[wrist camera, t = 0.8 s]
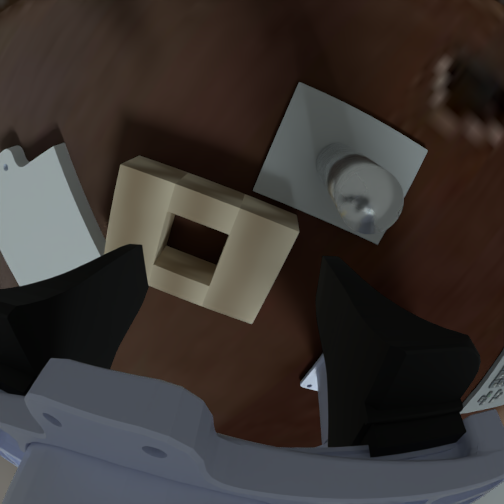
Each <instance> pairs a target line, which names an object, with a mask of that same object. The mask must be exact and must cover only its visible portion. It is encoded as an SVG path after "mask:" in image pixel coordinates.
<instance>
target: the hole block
mask: <svg viewBox="0 0 504 504" xmlns="http://www.w3.org/2000/svg"><path fill="white" fill-rule="evenodd" d="M175 214H176V215H179V216H181V217H184V218H187V219H189V220H192V221H194V222H197V223H200V224H202V225H205V226H207V227H210V228H213V229H215V230H218V231H220V232H223V233H226V234H228V237H227V240H226V243H225V245H224V248H223V250H222V253H221V255H220V258H219V260H218V263H217V265H216V264H213V263H210V262H208V261H205V260H203V259H200V258H197V257H195V256H192V255H190V254H187V253H185V252H182V251H179V250H177V249H174V248H172V247H169V246H167V242H168V238H169V235H170V231H171V228H172V224H173V221H174V217H175ZM298 234H299V226H298V219H297V215H296V214H293V213H291V212H288V211H286V210H284V209H281V208H279V207H276V206H274V205H271V204H269V203H266V202H264V201H261V200H259V199H256V198H254V197H251V196H249V195H246V194H244V193H241V192H238V191H236V190H233V189H231V188H228V187H225V186H223V185H220V184H218V183H215V182H212V181H210V180H207V179H204V178H202V177H199V176H196V175H193V174H191V173H188V172H185V171H182V170H180V169H177V168H174V167H171V166H168V165H166V164H163V163H160V162H157V161H154V160H151V159H148V158H145V157H143V156H140V155H139V156H137V157H135V158H133V159H131V160H128V161H126V162H124V163H122V164H121V165H120V169H119V173H118V178H117V182H116V187H115V192H114V197H113V202H112V207H111V213H110V219H109V225H108V231H107V237H106V244H105V251H104V254H106V253H108V252H110V251H112V250H115V249H117V248H119V247H121V246H124V245H127V244H140V245H142V247H143V254H144V261H145V267H146V274H147V280H148V285H149V286H152V287H154V288H157V289H159V290H161V291H164V292H166V293H169V294H172V295H174V296H177V297H179V298H182V299H184V300H187V301H190V302H192V303H195V304H197V305H200V306H203V307H205V308H208V309H211V310H214V311H216V312H219V313H222V314H225V315H227V316H230V317H233V318H236V319H239V320H242V321H244V322H247V323H250V324H252V323H253V321H254V319H255V317H256V316H257V314H258V312H259V310H260V308H261V306H262V304H263V302H264V300H265V298H266V297H267V295H268V293H269V291H270V289H271V287H272V285H273V283H274V281H275V279H276V277H277V275H278V273H279V271H280V270H281V268H282V266H283V264H284V262H285V260H286V258H287V256H288V254H289V252H290V250H291V248H292V246H293V244H294V242H295V240H296V238H297V236H298Z"/></svg>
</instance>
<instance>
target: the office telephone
mask: <svg viewBox="0 0 504 504" xmlns="http://www.w3.org/2000/svg"><path fill="white" fill-rule="evenodd" d="M462 404H463V410H462V411H461V412H459V413H460V414H462V413H468V412H473V411H478V410H483V409H488V408H492V407H497V406H500V405H504V349H503V351H502V352H501V354H500V355H499V357H498V358H497V360H496V361H495V363H494V364H493V365H492V367H491V368H490V370H489V371H488V372H487V374H486V375H485V376H484V378H483V379H482V380H481V382H480V383H479V384H478V386H477V387H476V388H475V389H474V391H473V392H472V393H471V394H470V395H469V396H468V397H467V399H466V400H465V401H464V402H463V403H462Z"/></svg>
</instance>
